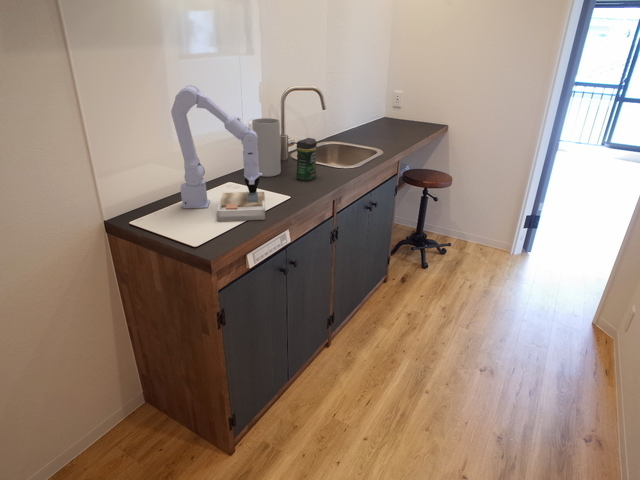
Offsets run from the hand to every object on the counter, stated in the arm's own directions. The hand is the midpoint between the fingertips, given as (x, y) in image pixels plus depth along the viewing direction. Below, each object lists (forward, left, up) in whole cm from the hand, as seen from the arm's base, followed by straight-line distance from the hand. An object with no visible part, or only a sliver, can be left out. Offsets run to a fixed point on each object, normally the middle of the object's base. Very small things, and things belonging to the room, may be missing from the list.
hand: (253, 196), depth 166 cm
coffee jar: (+24, +30, -3) cm, 39 cm away
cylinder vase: (+6, +39, -3) cm, 40 cm away
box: (-4, -12, -3) cm, 13 cm away
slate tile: (0, -3, -1) cm, 3 cm away
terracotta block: (-8, -13, -1) cm, 15 cm away
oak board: (-4, -1, -3) cm, 5 cm away
